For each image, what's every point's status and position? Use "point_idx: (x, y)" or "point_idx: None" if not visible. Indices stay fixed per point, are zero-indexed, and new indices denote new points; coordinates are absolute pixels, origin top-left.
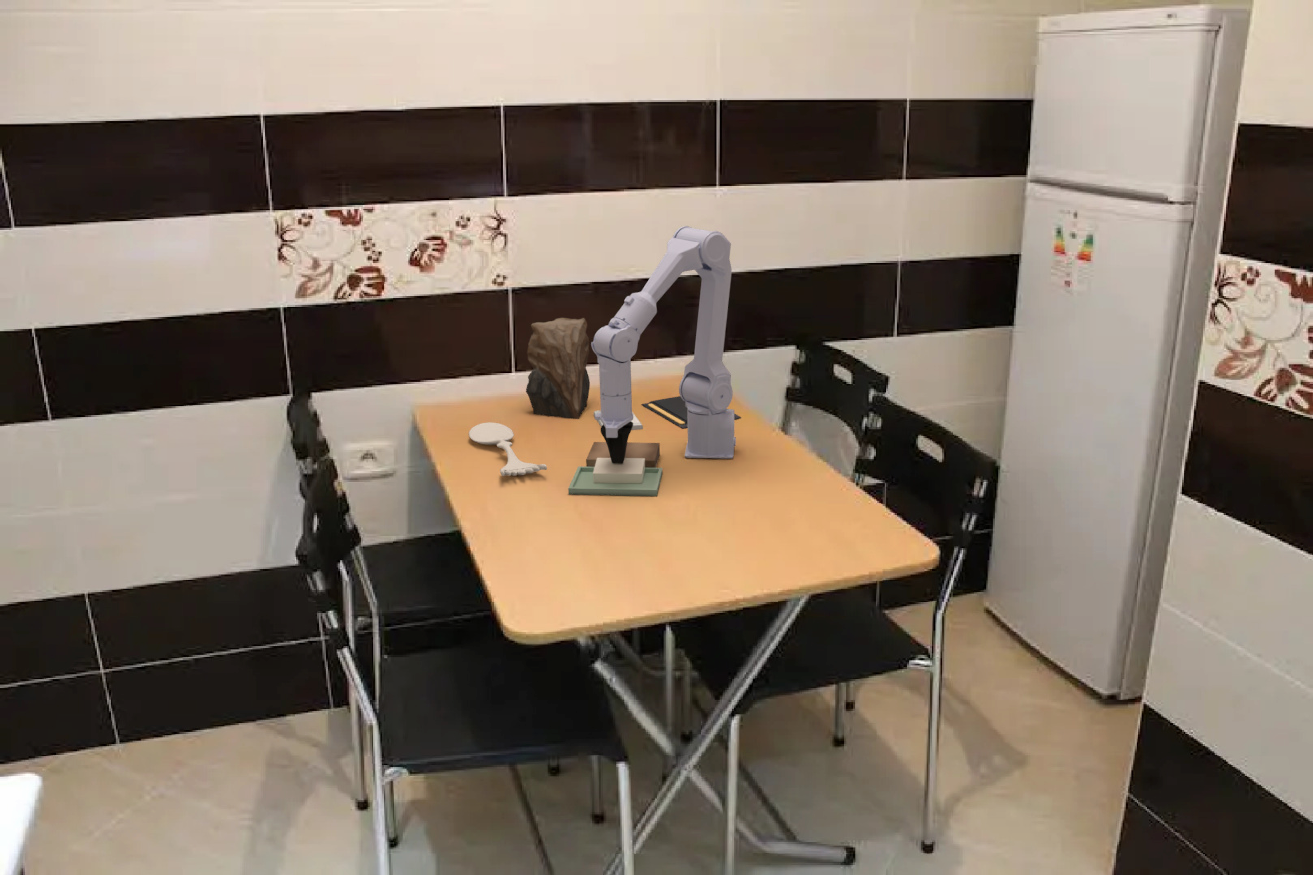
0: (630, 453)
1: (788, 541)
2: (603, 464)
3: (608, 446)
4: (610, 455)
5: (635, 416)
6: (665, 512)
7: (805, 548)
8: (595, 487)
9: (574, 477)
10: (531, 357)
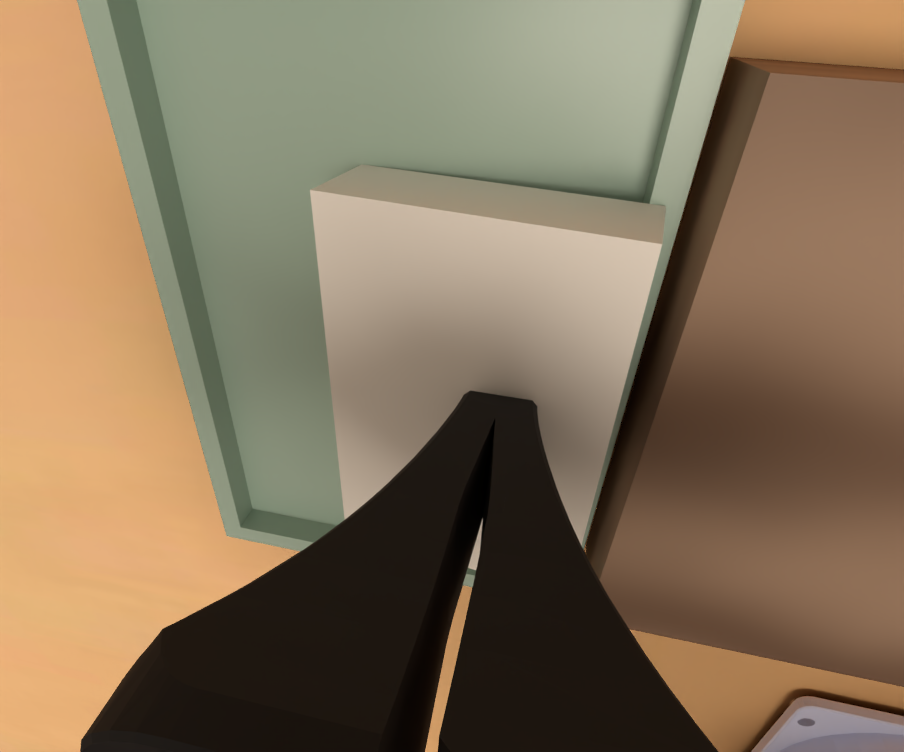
0: (811, 521)
1: (39, 703)
2: (484, 303)
3: (370, 502)
4: (438, 430)
5: None
6: (82, 511)
7: (20, 713)
8: (264, 186)
9: None
10: None
